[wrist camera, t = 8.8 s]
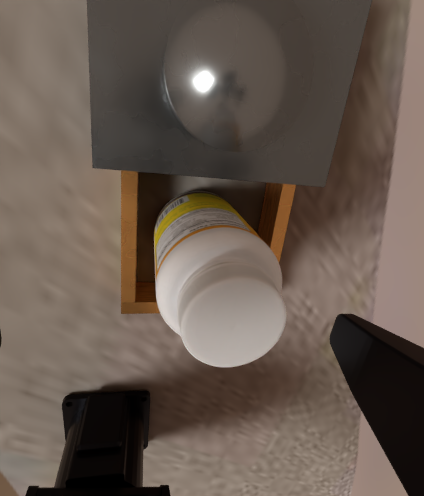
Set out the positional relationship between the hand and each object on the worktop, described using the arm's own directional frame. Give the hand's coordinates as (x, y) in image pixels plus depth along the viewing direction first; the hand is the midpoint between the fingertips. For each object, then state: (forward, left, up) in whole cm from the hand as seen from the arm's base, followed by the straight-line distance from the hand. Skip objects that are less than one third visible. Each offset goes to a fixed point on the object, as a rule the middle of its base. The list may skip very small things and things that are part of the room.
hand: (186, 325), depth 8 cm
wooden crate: (+3, -2, -12) cm, 13 cm away
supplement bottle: (-2, -2, -12) cm, 13 cm away
